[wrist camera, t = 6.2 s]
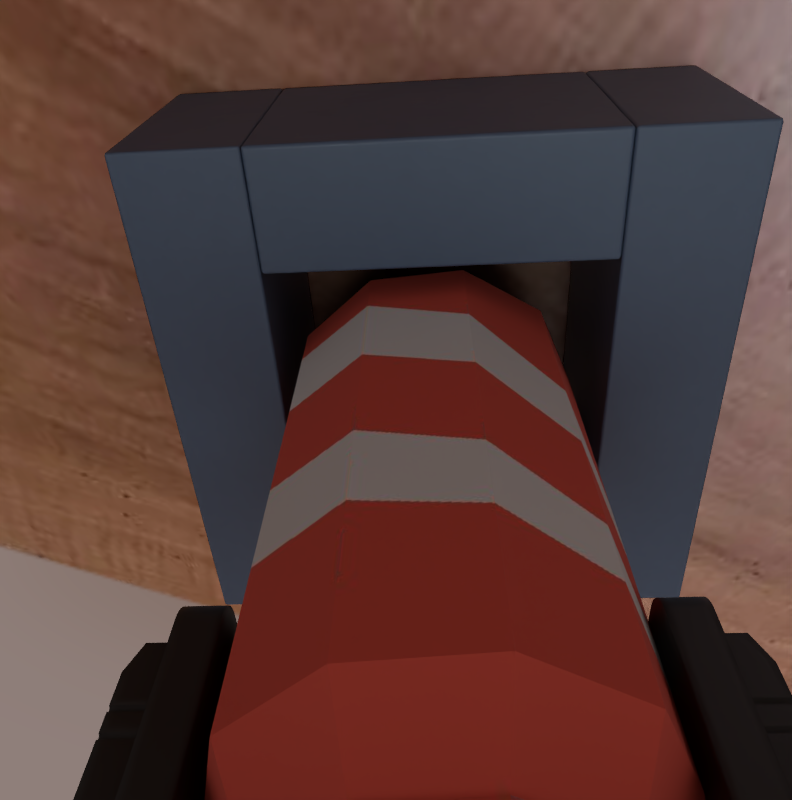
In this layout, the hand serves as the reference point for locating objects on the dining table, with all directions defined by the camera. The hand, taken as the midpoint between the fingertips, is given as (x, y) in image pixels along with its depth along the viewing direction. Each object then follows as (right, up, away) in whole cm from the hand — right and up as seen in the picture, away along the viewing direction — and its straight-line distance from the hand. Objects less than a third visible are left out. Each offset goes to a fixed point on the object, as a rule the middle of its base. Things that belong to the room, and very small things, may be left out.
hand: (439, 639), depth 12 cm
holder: (+1, +6, +9) cm, 11 cm away
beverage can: (0, +4, +7) cm, 8 cm away
